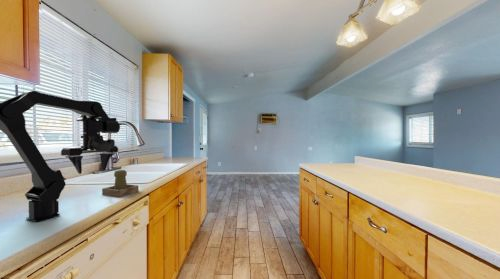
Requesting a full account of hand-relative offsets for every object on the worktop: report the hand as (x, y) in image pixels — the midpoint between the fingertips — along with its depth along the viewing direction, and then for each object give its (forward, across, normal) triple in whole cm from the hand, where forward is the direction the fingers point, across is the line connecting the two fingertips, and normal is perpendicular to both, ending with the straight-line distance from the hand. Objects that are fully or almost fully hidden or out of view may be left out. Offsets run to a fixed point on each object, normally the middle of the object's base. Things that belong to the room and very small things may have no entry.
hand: (92, 171), depth 88 cm
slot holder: (+13, +16, +4) cm, 21 cm away
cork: (+13, +15, +4) cm, 21 cm away
